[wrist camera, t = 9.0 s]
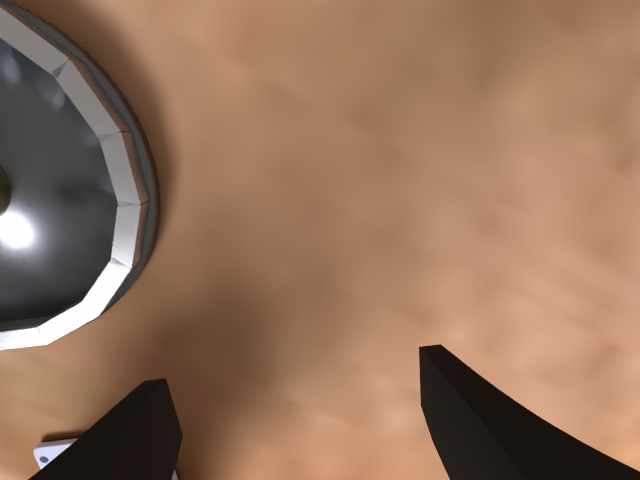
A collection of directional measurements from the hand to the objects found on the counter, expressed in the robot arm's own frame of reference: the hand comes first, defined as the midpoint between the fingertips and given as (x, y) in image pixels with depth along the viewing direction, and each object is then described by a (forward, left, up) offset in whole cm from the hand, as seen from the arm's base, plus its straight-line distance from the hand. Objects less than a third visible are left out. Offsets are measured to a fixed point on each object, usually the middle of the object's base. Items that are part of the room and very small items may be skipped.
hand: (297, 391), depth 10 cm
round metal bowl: (+6, +15, -10) cm, 19 cm away
